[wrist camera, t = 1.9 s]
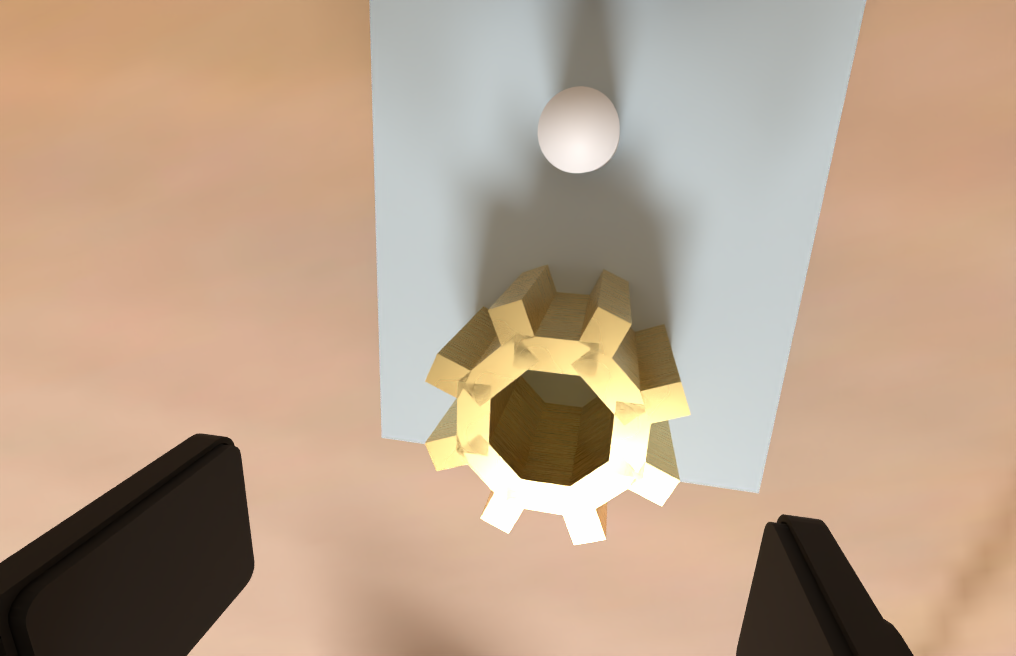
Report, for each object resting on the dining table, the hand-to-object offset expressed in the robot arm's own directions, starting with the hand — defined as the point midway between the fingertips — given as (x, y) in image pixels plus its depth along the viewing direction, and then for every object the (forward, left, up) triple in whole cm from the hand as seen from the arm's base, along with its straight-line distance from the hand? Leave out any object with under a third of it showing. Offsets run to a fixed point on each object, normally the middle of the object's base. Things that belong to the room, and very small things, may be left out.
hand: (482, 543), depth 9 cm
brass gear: (-1, 0, -10) cm, 10 cm away
